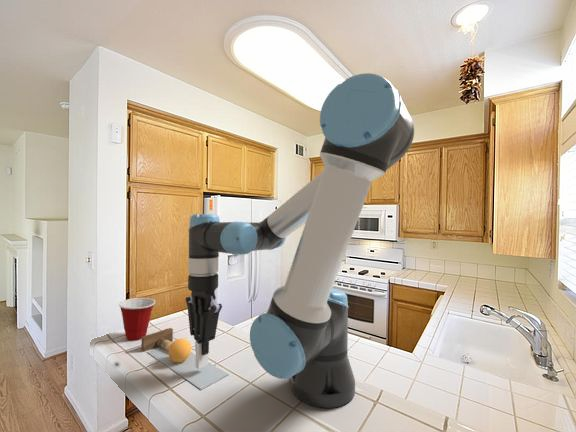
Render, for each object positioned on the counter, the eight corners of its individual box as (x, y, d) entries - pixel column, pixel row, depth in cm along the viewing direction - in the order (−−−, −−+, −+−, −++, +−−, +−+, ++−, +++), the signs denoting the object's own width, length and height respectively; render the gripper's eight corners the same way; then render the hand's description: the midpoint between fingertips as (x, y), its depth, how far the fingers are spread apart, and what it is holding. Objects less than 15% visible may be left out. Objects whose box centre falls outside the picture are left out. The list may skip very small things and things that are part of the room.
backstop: (172, 341, 85) (172, 329, 85) (143, 351, 78) (143, 338, 78) (170, 340, 86) (170, 327, 86) (141, 350, 79) (141, 336, 79)
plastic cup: (138, 346, 82) (139, 307, 82) (109, 342, 84) (110, 305, 84) (161, 332, 92) (162, 298, 93) (135, 329, 94) (136, 296, 95)
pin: (182, 348, 79) (165, 341, 83) (178, 343, 78) (162, 335, 82) (175, 355, 77) (159, 348, 82) (171, 350, 76) (155, 342, 81)
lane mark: (228, 374, 67) (228, 374, 67) (201, 390, 60) (201, 389, 60) (173, 343, 84) (173, 342, 84) (147, 352, 78) (147, 351, 78)
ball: (181, 342, 78) (191, 359, 75) (161, 352, 73) (171, 371, 71) (187, 330, 76) (198, 348, 73) (167, 339, 71) (178, 358, 68)
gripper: (231, 274, 67) (229, 368, 66) (201, 268, 75) (200, 352, 74) (205, 279, 61) (203, 382, 60) (176, 272, 69) (174, 363, 68)
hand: (201, 365), depth 67 cm, fingers closed
